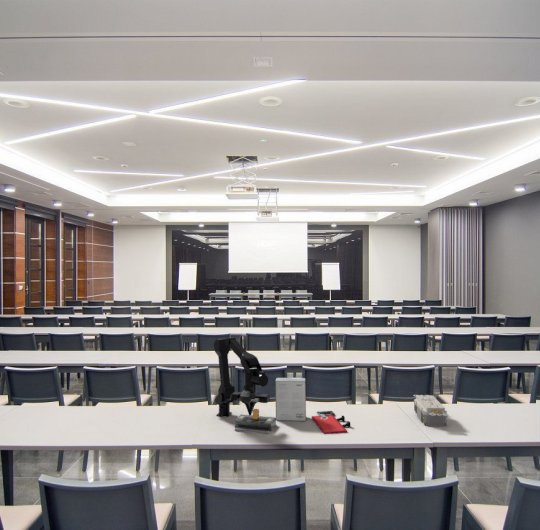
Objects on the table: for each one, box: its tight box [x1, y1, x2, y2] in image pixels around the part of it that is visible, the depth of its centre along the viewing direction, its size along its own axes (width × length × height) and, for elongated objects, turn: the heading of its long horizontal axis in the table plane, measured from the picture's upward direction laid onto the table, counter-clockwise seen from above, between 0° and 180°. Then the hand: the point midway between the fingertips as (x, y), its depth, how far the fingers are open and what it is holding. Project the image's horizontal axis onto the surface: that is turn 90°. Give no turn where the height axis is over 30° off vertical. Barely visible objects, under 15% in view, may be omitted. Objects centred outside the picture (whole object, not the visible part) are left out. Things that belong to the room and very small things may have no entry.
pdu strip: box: [234, 414, 277, 432], centre depth 203 cm, size 9×18×4 cm, turn 74°
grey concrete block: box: [412, 394, 449, 427], centre depth 212 cm, size 12×28×10 cm, turn 177°
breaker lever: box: [252, 408, 260, 419], centre depth 203 cm, size 3×2×4 cm
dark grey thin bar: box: [234, 426, 269, 435], centre depth 196 cm, size 2×16×1 cm, turn 74°
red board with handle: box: [311, 410, 351, 435], centre depth 209 cm, size 30×3×15 cm
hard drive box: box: [274, 377, 307, 422], centre depth 215 cm, size 16×8×20 cm, turn 84°
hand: (250, 415), depth 204 cm, fingers closed
